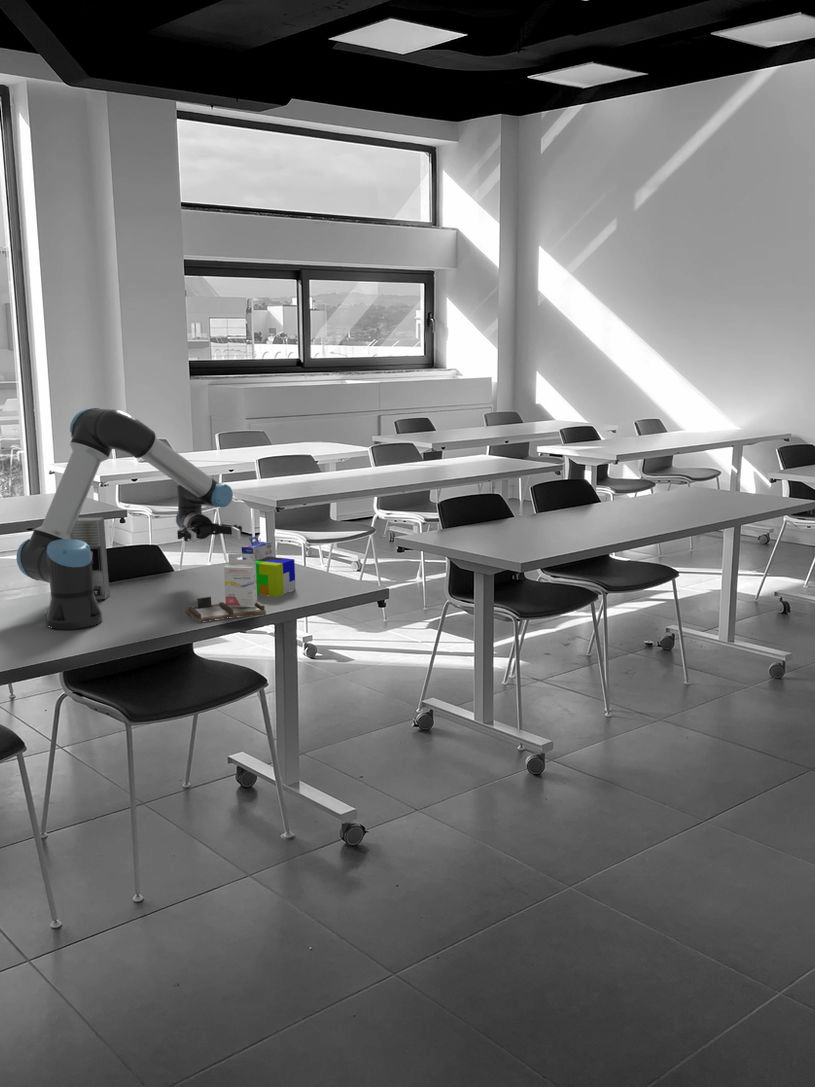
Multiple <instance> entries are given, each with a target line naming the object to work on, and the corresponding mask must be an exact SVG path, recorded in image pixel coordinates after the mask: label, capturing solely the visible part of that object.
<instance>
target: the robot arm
mask: <svg viewBox="0 0 815 1087" xmlns="http://www.w3.org/2000/svg"><path fill="white" fill-rule="evenodd" d="M69 432H70V437H71V440H70V443H69V446H70V448H71V449H72V453H71V454H70V457H69V459H68V461H67V464H66V466H65V469H64V471H63V474H62V476H61V479H60V481H59V484H58V486H57V488H56V491H55V494H54V495H53V498H52V501H51V502H50V505H49V508H48V510H47V512H46V514H45V518H44V519H43V522H42V524H41V525H40V526H39V527H36V528H34V529H33V532H32V534H31V536H30V538H28V539H26V540H24V541H23V542H22V543H21V544H20V545H19V547H18V548H17V552H16V563H17V565H18V568H19V571H20V572H21V573H22V574H23V575H25V576H26V577H29V578H30V579H33V580H35V581H41V582H46V583H48V584H50V586H49V588H50V598H51V599H50V601H49V602H50V603H49V606H48V611H47V615H46V626H47V625H48V626H50V627H52V628H56V629H55V630H59V629H72V630H77V629H76V628H81V629H85V628H84V627H87V628H89V627H88V626H91V627H94V626H97V625H100V624H101V623H102V622H103V612H102V610H101V608H100V605H99V603H98V601H97V600H98V599H96V598H95V596H94V588H93V573H92V555H91V551H90V547H89V545H88V544H87V543H85V542H83V541H80V540H72V539H71V534H72V532H73V529H74V527H75V524H76V522H77V519H78V518H80V517H79V516H80V514H81V511H82V509H83V506H84V504H85V502H86V500H87V497H88V494H89V492H90V489H91V487H92V484H93V482H94V480H95V478H96V475H97V473H98V470H99V467H100V465H101V463H102V462H105V461H107V460H108V459H109V457H110V454H111V452H112V450H115V451H120V452H124V453H127V454H128V455H130V456H132V457H133V458H135V459H142V460H143V461H145V462H146V463H147V464H148V465H150V466H152V467H153V468H155V469H156V470H158V471H159V472H161V473H162V474H164V476H167V477H168V478H169V479H171V480H172V481H174V482H175V483H177V485H176V489H177V491H176V492H177V502H178V503H177V504H178V506H177V510H178V512H177V513H176V516H175V522H176V525H177V527H178V528H179V529H177V530H176V531H177V532H176V534H177V539H178V540H181V539H183V542H188V541H190V542H192V543H193V544H195V543H197V542H198V541H197V539H198V540H203V539H207V538H209V536H210V535H211V536H213V535H214V536H216V535H219V534H220V535H221V534H222V535H231V536H232V537H233V538H236V539H237V540H240V539H241V535H242V534H243V526H242V525H238V524H237V523H236V524H230V523H226V522H225V523H224V522H220V524H219V523H218V522H217V523H215V522H213V521H212V520H211V519H210V517H208V516H206V515H205V514H202V513H203V510H202V508H203V507H202V505H204V506H208V507H215V508H226V507H228V506H230V504H231V502H232V501H233V498H234V496H233V495H234V492H233V489H232V487H231V486H230V485H229V484H226V483H223V482H218V481H216V479H214V478H213V477H211V476H209V475H208V474H207V473H205V472H204V471H202V470H201V469H200V468H199V467H197V466H196V465H194V464H193V463H192V462H190V461H189V460H187V459H186V458H185V457H184V456H182V455H180V453H178V452H177V451H175V450H174V449H173V448H171V447H170V446H169V445H167V443H164V442H163V441H161V440H160V439H159V438H157V434H156V432H155V430H153V429H151V428H150V427H149V426H148V425H146V424H144V422H142V421H140V420H139V419H137V418H136V417H134V416H133V415H131V414H130V413H127V412H126V411H123V410H120V409H108V408H107V409H106V408H99V407H93V408H92V407H90V408H86V409H83V410H80V411H79V412H77V413H76V414H75V415H74V417H73V418H72V419H71V422H70V425H69ZM100 622H101V623H100ZM96 624H97V625H96ZM93 625H94V626H93ZM48 626H47V627H48ZM52 628H51V629H52Z"/></svg>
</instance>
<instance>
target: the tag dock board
mask: <svg viewBox="0 0 815 1087" xmlns="http://www.w3.org/2000/svg"><path fill="white" fill-rule="evenodd" d="M196 601H197V602H196V603H197V604H196V605H197V606H194V607H193V606H188V607H186V608H184V609H185V613H186V612H187V613H186V614H188V615H189V616H190V617H191V618H192V617H193V618H192V619H193V620H195V621H196V620H197V621H198V622H203V621H209V620H215V619H221V618H227V617H228V618H229V617H237V616H245V617H248V616H247V615H253V616H259V615H258V614H260V615H266V614H267V611H266V610H267V609H266V608H265V604H263V603H262V602H260V601H259V600H257V602H256V604H255V605H254V606H228V605H227V606H226V602H219V603H216V604H212V597H211V596H206V597H205V596H204V597H198V598H196ZM197 621H196V622H197ZM198 622H197V623H198ZM203 623H204V622H203Z"/></svg>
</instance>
